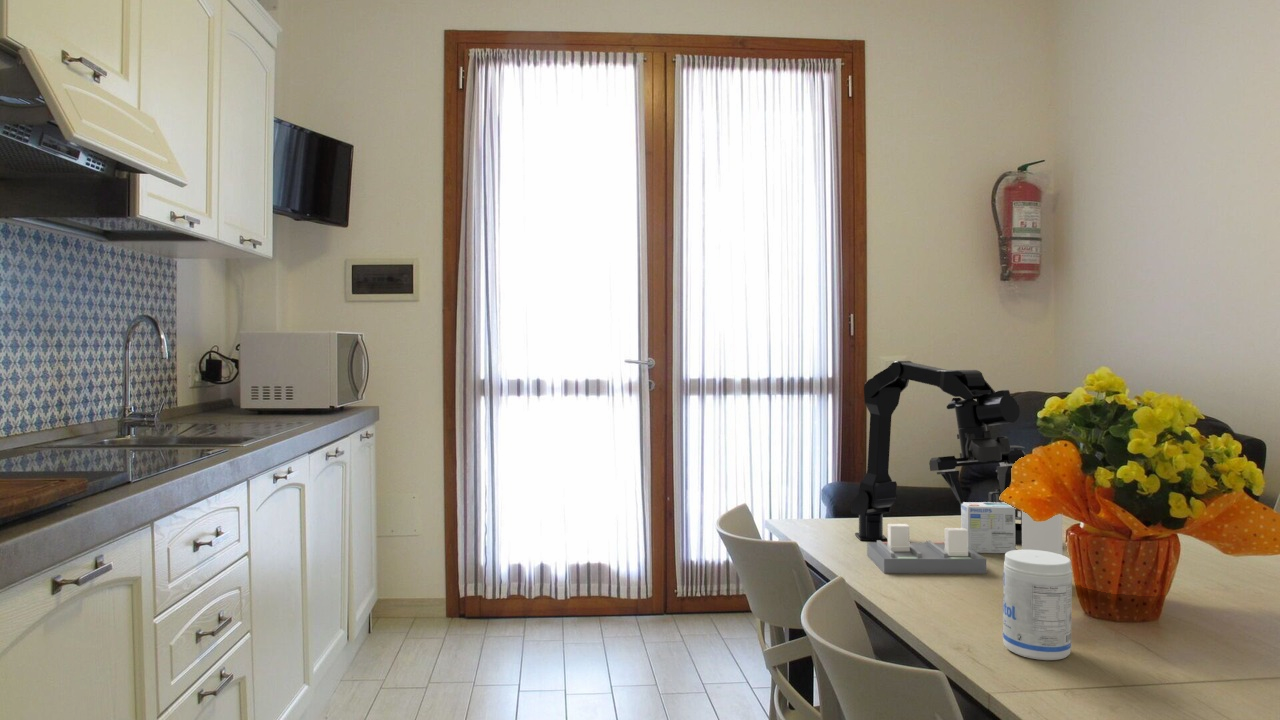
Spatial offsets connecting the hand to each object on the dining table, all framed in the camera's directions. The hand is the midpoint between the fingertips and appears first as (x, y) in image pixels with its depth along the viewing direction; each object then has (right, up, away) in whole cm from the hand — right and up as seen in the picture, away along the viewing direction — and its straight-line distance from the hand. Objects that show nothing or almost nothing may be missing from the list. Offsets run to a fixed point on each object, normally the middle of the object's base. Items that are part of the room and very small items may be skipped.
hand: (983, 501), depth 176 cm
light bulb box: (+8, -14, +17) cm, 24 cm away
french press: (+19, -14, +27) cm, 36 cm away
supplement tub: (-11, -15, -47) cm, 51 cm away
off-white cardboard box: (+7, -15, -11) cm, 20 cm away
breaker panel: (-11, -14, +5) cm, 19 cm away
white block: (-16, -11, +5) cm, 21 cm away
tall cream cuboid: (-5, -11, +1) cm, 13 cm away
